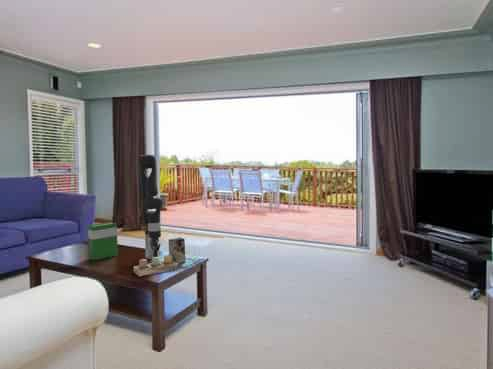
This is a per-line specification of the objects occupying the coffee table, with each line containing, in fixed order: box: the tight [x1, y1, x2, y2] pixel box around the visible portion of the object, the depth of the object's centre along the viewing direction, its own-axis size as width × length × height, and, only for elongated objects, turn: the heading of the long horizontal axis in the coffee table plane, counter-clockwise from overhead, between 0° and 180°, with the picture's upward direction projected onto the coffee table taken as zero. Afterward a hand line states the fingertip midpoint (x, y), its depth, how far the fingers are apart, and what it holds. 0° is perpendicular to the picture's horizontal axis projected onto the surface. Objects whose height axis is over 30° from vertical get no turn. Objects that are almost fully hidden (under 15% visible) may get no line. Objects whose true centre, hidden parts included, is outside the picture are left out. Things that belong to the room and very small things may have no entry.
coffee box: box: [168, 237, 186, 264], centre depth 250 cm, size 9×6×16 cm
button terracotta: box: [138, 258, 148, 269], centre depth 229 cm, size 5×5×5 cm
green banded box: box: [87, 221, 119, 261], centre depth 266 cm, size 18×7×24 cm, turn 137°
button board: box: [132, 260, 179, 277], centre depth 234 cm, size 11×25×4 cm, turn 124°
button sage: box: [151, 256, 161, 267], centre depth 233 cm, size 5×5×5 cm
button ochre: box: [163, 254, 172, 264], centre depth 238 cm, size 5×5×5 cm
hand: (155, 256), depth 233 cm, fingers closed
